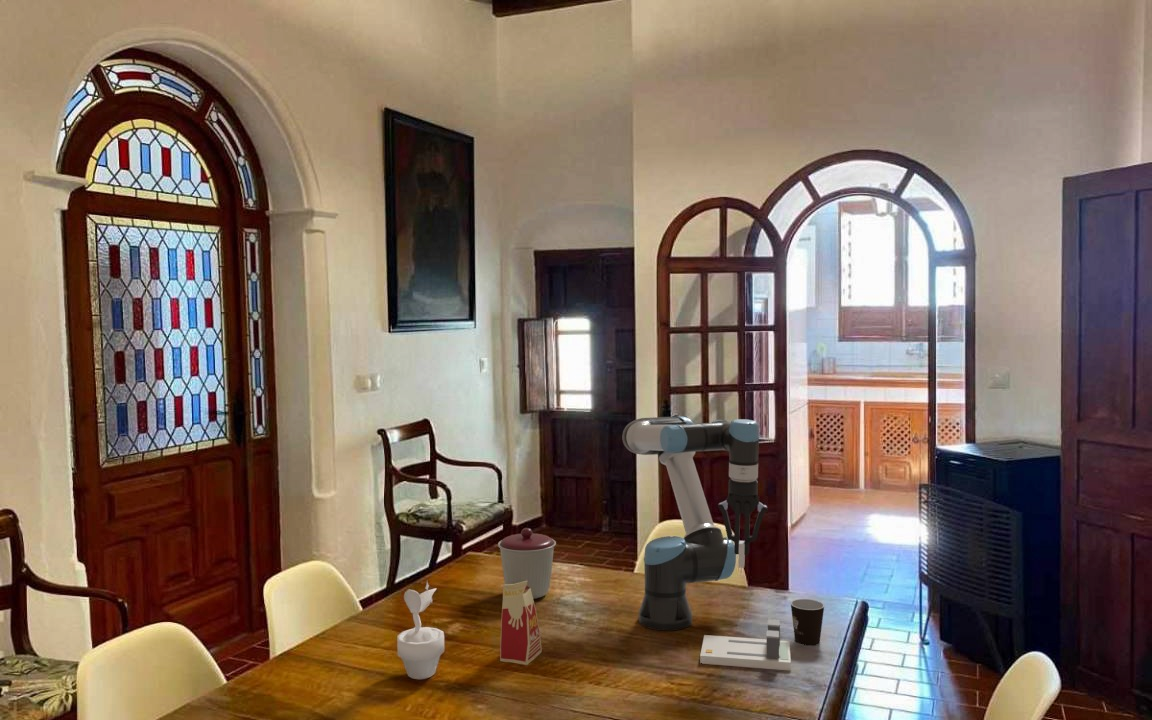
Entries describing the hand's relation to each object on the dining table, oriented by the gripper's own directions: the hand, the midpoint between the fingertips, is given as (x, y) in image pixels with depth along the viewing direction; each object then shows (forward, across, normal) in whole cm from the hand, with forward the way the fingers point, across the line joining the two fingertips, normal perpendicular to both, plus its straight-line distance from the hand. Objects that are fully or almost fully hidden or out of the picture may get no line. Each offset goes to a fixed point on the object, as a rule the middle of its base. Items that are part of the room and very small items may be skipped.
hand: (741, 566), depth 227 cm
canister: (+23, -66, +24) cm, 74 cm away
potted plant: (+21, -75, -38) cm, 86 cm away
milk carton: (+21, -55, -22) cm, 63 cm away
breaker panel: (+20, +2, -10) cm, 23 cm away
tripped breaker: (+17, +9, -14) cm, 24 cm away
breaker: (+18, +9, -6) cm, 21 cm away
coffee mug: (+21, +18, +4) cm, 27 cm away
